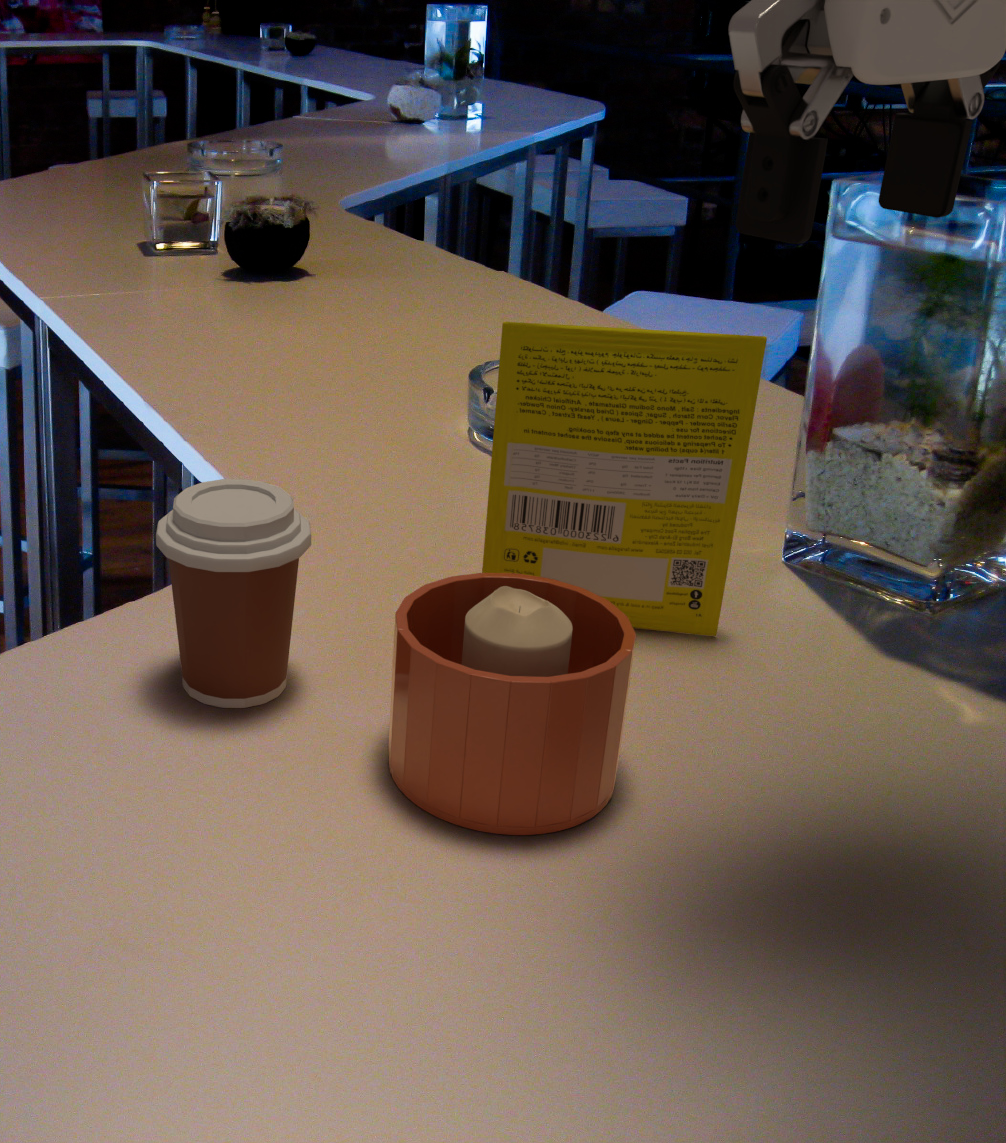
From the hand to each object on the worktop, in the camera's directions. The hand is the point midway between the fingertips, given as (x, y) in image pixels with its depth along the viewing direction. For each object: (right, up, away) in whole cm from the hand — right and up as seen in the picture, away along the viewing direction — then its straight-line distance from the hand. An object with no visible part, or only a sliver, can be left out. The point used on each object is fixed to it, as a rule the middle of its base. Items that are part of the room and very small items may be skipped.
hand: (845, 224), depth 56 cm
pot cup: (-11, -25, +17) cm, 33 cm away
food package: (-2, -18, +32) cm, 37 cm away
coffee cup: (-26, -22, +26) cm, 42 cm away
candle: (-11, -25, +17) cm, 32 cm away
